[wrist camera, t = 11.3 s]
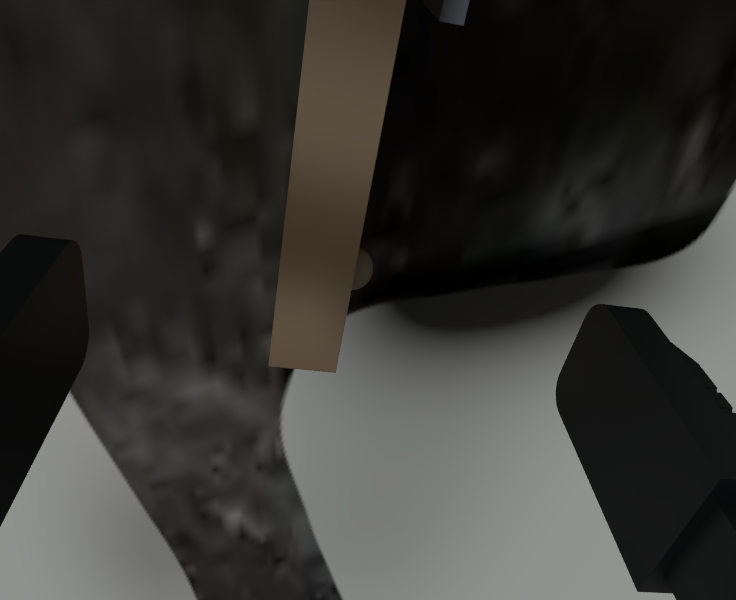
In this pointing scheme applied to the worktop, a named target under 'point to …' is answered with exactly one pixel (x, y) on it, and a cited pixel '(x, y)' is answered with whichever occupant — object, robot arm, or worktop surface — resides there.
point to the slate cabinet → (448, 10)
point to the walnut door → (332, 175)
